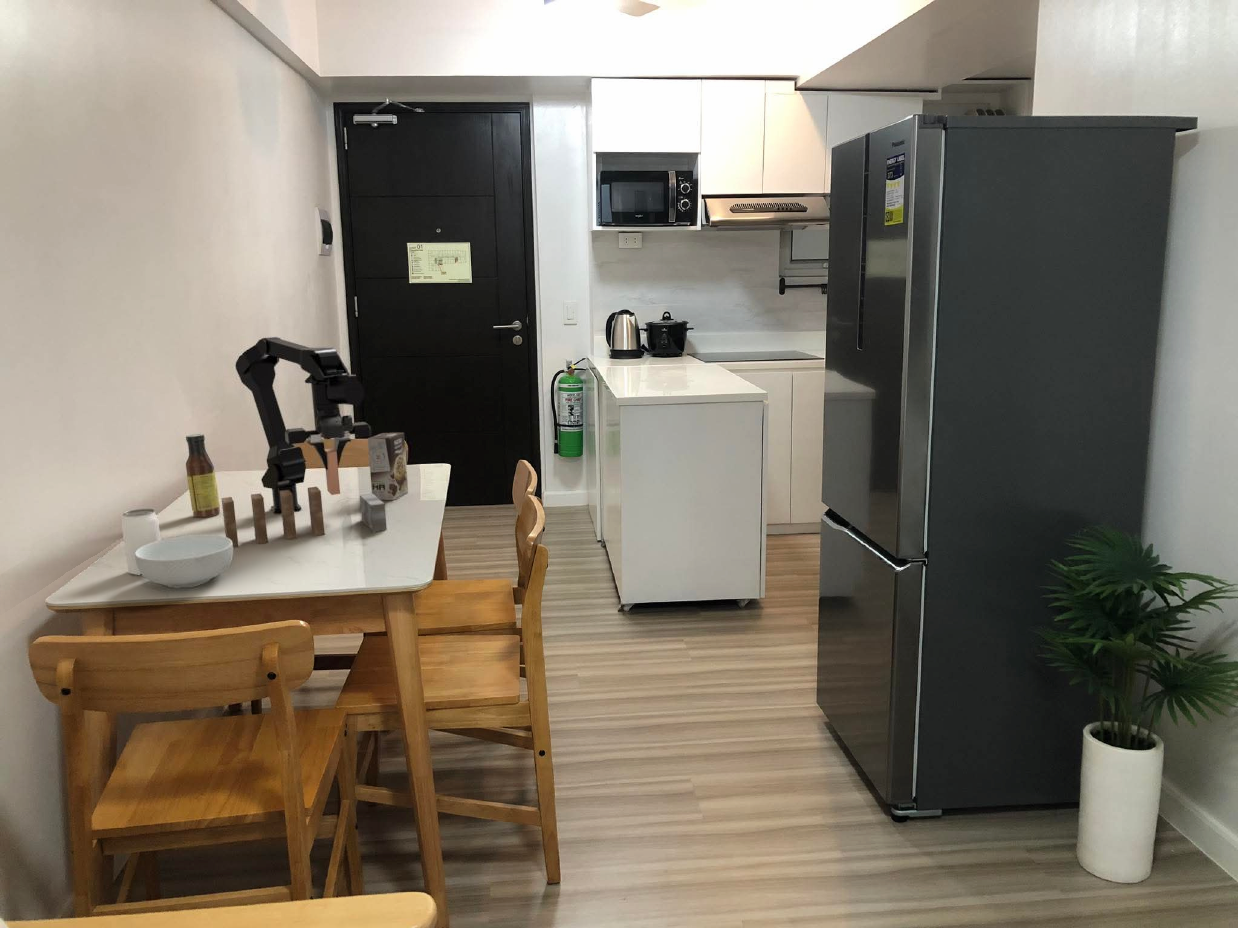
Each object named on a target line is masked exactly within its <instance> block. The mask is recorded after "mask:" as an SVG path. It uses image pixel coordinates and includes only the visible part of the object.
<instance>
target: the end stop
mask: <svg viewBox="0 0 1238 928" xmlns="http://www.w3.org/2000/svg"><path fill="white" fill-rule="evenodd" d="M359 503H360V515H361V521H362V522H363V523H364V524H365V525H366V526H367V527H368V528H369V529H370V530H371V531H372V532H373V533H374V532H379V531H386V530H388V528H387V515H386V504H385V502H383V500H380V499H378V498H377V497H376V496H375V495H374V494H372V493H367V494H360V495H359Z"/></svg>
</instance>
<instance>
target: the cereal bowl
mask: <svg viewBox="0 0 1238 928" xmlns="http://www.w3.org/2000/svg"><path fill="white" fill-rule="evenodd" d="M233 553H234V548H233V543H232V541H231V540H230V539H229V538H227V537H226V536H224V535H223V536H222V535H217V534H216V535H215V534H190V535H189V534H188V535H181V536H174V537H173V536H172V537H168V538H164V539H163V538H162V539H161V540H159V541H155V542H152V543H149V544H147V545H144V546H142V547H141V548H139V549H138V550H137V551H136V552H135V560H136V565H137V568H138V570H139V572H140V573H141V574H142V575H141V576H142V577H143V578H145V579H146V580H148V581H149V582H152V583H156V584H159V585H160V584H161V585H164V586H166V587H169V588H172V587H174V588H173V589H181V588H180V587H186V588H192V587H191V586H193V587H197V586H200V585H199V584H201V585H203V584H205V582H206V583H208V582H209V581H210V580H211V579H212V578H214V577H216V576H219V575H220V574H222V573H223V572H225V570H226V569H227V568H228V567H229V566H230V564H231V562H232V559H233V555H234V554H233ZM207 581H208V582H207ZM202 583H203V584H202ZM196 585H197V586H196ZM176 587H177V588H176Z"/></svg>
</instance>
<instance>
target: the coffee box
mask: <svg viewBox="0 0 1238 928" xmlns="http://www.w3.org/2000/svg"><path fill="white" fill-rule="evenodd" d="M405 441H406V440H405V432H382V433H379V434H376V435H374V436H369V437H367V443H368V444H367V445H368V446H367V447H368V458H369V459H368V460H369V472H370V488H371V494H374V495H375V496H376V497H377V498H378V499H380V500H381V501H394V500H397V499H399V498H401V497H403V496H404V495H407V494H408V493H409V483H408V470H407V469H408V468H407V455H406V452H407V451H406V442H405Z"/></svg>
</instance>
